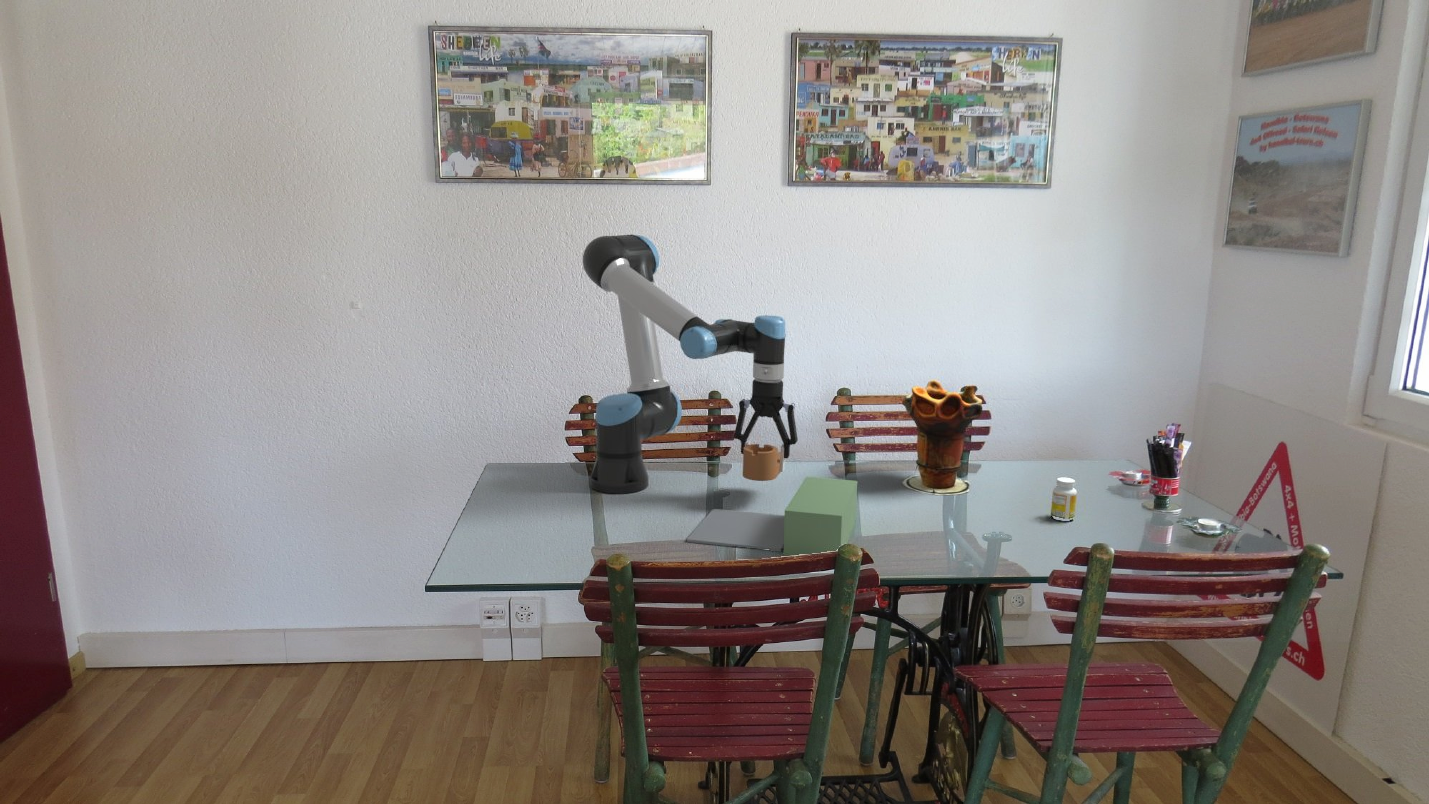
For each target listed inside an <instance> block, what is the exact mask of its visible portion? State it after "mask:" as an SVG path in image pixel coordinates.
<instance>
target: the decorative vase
mask: <svg viewBox="0 0 1429 804" xmlns="http://www.w3.org/2000/svg"><path fill="white" fill-rule="evenodd" d="M976 392H978V386H976V385H974V384H969V385H967V386H965V388H964V391H959V392H952V391H951V392H950V391H949V392H948V391H947V390H946V389H944V388H943V387H942V385H941V383H940V382H939V381H938V380H935V379H931V380H929V381H928V383H927V385H926V386H925V388H923V387H921V386H913V387H912V388H911V393H909V394H907V395H905V396H904V397H903V399H902V402H901V404H902V406H904V408H905V410H906V413H907V415H908V416H910V417H911V419H912V420H913V422H914V423H915V425H916V433H917V437H916V438H917V440H916V453H917V460H915V463H916V468H915V470H914V472H916V471H917V469H918V472H919V475H913V476H909V477H907V478H905V479H904V480H903V481H902V482H901V484H903V486H904V487H906V488H907V489H909V490H913V491H916V492H919V493H923V494H928V495H936V496H944V495H947V496H948V495H949V496H952V495H963V494H966V493H968V492H970V489H969V487H970V482H969V481H968V480H962V479H961V478H957V474H958V471H959V470H960V468H961V467H962V469H963V472H964V468H963V466H962V465H963V464H962V462H961V459H962V456H963V455H962V454H963V451H964V443H965V435H966V432H967V431H966V430H967V428H968V427H969V426H970V424H971V423H972V422H973V421H974V420H976V419H979V418H980V417H981V416H982V415H983V405H982V404H983V400H982V399H981V398H979V397H978V396H976Z"/></svg>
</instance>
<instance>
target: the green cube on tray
mask: <svg viewBox="0 0 1429 804" xmlns="http://www.w3.org/2000/svg"><path fill="white" fill-rule="evenodd" d="M857 496H858V480H853V479H851V480H849V479H840V478H839V479H838V478H828V477H815V476H806V477H804V480H803V481H802V483H801V484H800V486H799V488H798V489H797V491H796V492H795V493H794V495H793V496H792V498H791V500H790V502H789V503H788V504H787V506H786V507H785V509H784V515H783V514H772V513H761V512H752V511H751V512H750V511H742V510H741V511H740V510H730V509H721V508H720V509H719V508H713V509H712V510H711V511H710V512H709V513H708V514H707V516H705V518H703V520H702V521H701V522H700V523H699V524H698V526H697V527H696V528H695V529H694V530H693V531H692V533H690V535H689V536H688V537H687V538H686V542H687V543H693V544H702V545H703V544H704V545H712V546H713V545H715V546H722V547H732V546H734V548H736V547H735V546H738V547H737V548H740V547H748V548H747V549H750V548H758V549H757V550H759V549H769V550H772V552H778V551H779V552H778V553H780V552H782V551H783V556H785V557H790V556H789V555H799V554H812V553H821V552H827V551H836V550H837V549H839V546H841V545H842V544H845V543H847V544H848V543H849V540H850V537H851V535H852V533H853V530H854V527H855V526H856V520H857V499H858V498H857ZM732 548H733V547H732ZM769 550H768V551H769Z"/></svg>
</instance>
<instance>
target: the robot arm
mask: <svg viewBox="0 0 1429 804" xmlns="http://www.w3.org/2000/svg"><path fill="white" fill-rule="evenodd" d="M659 264H660V255H659V253H658V250H657V247H656V246H655V244H654V243H653V242H652V241H651V240H650V239H649V238H648V237H645V236H643V235H637V234H623V235H622V234H621V235H601V236H599V237H596V238H594V239H593V240H591V241H590V242H589V243H588V244H587V245H586V247H585V249H584V250H583V254H582V266H583V269H584V271H585V273H586V276H588V278H589V279H590V280H591V281H592V282H593V283H594V284H595V285H596V286H597V287H599V288H600V289H602V290H603V291H605V292H606V293H610V292H613V293H614V294H615V295H616V296H617V300H618V307H619V311H620V317H621V318H620V319H621V326H622V330H623V338H624V343H625V345H624V346H625V350H626V357H627V363H628V369H629V376H630V385H629V387H628V388H627V389H626V392H627V393H625V392H623V393H618V394H611V395H608V396H605V397H603V398H601V399H600V400H599V401H598V402H597V404H596V409H595V412H596V413H595V416H594V418H595V436H596V437H595V438H596V439H595V443H596V458H595V462H594V465H593V468H592V472H591V475H590V481H589V483H590V488H591V489H593V491H597V492H600V493H605V494H631V493H636V492H640V491H643V490H645V489H647V488H648V487H649V475H648V472H647V469H646V465H645V463H644V460H643V459H644V458H643V456H642V455H643V453H642V450H643V449H642V448H643V447H642V444H643V443H642V442H643V441H646V440H648V439H651V438H656V437H662V436H664V435H666V434H668V433H669V432H670V433H671V432H672V431H674V430H675V429H676V427H677V426H678V425H679V423H680V422H681V418H682V415H683V414H682V413H683V409H682V403H681V400H680V398H679V397H678V396H677V395H676V393H675V392H674V391H671V385H670V384H671V383H669V382H667V380H665V379H664V376H663V371H662V369H663V368H662V364H661V357H660V350H659V345H658V343H659V342H658V337H657V332H656V331H657V330H656V325H657V326H658V327H660V329H662V330H664V332H666V333H668V334H669V335H670V336H671V337H673V338H674V339H675V340H677V341H678V342H679V343H680V348H681V350H682V352H683V354H684V355H685V356H686V357H687V358H689V359H692V360H703V359H708V358H712V357H715V356H718V355H719V356H720V355H725V354H729V353H733V352H740V353H747V354H752V355H753V358H752V359H753V361H752V362H753V364H752V366H753V367H752V378H753V380H752V385H751V386H752V389H751V391H752V393H751V398H750V399H745V398H742V399H741V400H740V401H739V402H738V407H739V412H738V417H737V421H736V425H735V429H734V434H733V438H734V439H735V440H738V441H740V454H741V455H743V452H744V447H745V446H747V445H751V440H750V439H749V437H750V434H751V433H752V431H753V429H754V427H755V426H756V424H757V421H758V419H759V418H764V417H766V418H769V419H772V420H773V422H774V424H775V426H776V428H777V432H778V434H779V436H780V438H781V441H782V443H781V445H780V451H779V452H780V473H783V472H784V471H785V469H786V467H785V466H786V459H788V458H789V457H790V454H791V453H790V450H791V445H795V444H797V442H798V431H797V425H796V419H795V410H796V409H795V407H796V404H795V403H794V402H792V403H788V402H785V400H784V397H783V396H784V395H783V394H784V381H783V379H784V376H785V375H784V374H785V349H786V348H785V346H786V345H785V344H786V337H787V334H786V320H785V319H784V317H782V316H779V315H757V316H756V317H755V319H754V322H750V321H741V320H736V319H732V318H727V319H726V318H725V319H723V318H720V319H717V320H715V322H714V323H711V324H709V323H708V322H706V321H704V320H703V319H702V318H700V317H699V316H697V315H696V314H695V313H694V312H693V311H691V310H689V309H688V308H686V307H685V306H684V305H683V304H681V303H680V302H678V300H676V299H674V298H673V297H672V296H670V295H669V294H668V293H666V292H665V291H663V290H662V289H661V288H660V287H658V286H657V285H655V281H654V275H655V274H656V272H657V270H658V268H659ZM750 405H751V408H752V409H753V410H754V412H753V414H752V416H751V418H750V421H749V423H748V425H747V426H746V429H745V430H744V432H743V433H742V431H743V426H744V423H745V417H746V414H747V409H748V408H749V407H750ZM783 408H784V411H785V413H786V414H787V416H786V418H787V423H788V424H787V425H788V430H789V435H788V431H787V430H786V427H785V424H784V422H783V419H782V416H781V413H780V411H781V410H782V409H783ZM748 439H749V440H748Z"/></svg>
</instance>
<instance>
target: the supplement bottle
mask: <svg viewBox="0 0 1429 804" xmlns="http://www.w3.org/2000/svg"><path fill="white" fill-rule="evenodd" d="M1075 486H1076V480H1075V479H1073V478H1072V477H1071V478H1070V477H1057V479H1056V486H1054V487H1053V489H1052V498H1051V508H1050V516H1051V515H1052V516H1055V517H1059V518H1063V519H1070V518H1073V517H1074V518H1075V515H1076V514H1075V513H1076V506H1077V505H1076V504H1077V495H1078V491H1077V489H1075Z"/></svg>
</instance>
